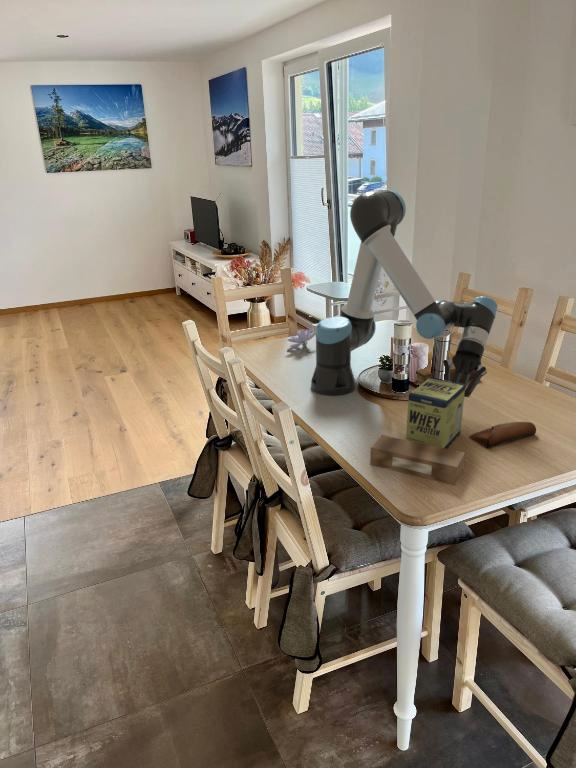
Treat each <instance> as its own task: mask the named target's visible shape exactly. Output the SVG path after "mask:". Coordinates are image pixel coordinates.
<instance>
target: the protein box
mask: <svg viewBox="0 0 576 768" xmlns="http://www.w3.org/2000/svg"><path fill="white" fill-rule="evenodd" d="M465 390H466V389H465V384H461V382H458V383H457V382H452V381H447V380H442V379H438V378H433V377H430V378H428V379H427V380H426V381H425V382H424V383H422V384H421V385H420V386H419V387H418V386H417V387H416V388H415V389H414V390H412V391H411V392H409V394H408V399H407V401H408V403H407V414H406V415H407V418H406V433H405V440H408V441H413V442H418V443H422V444H427V445H431V446H436V447H441V448H445V449H449V447H450V445H452V444H453V443H454V442H455V440H457V438H458V437H459V436H460V435H461V432H462V431H461V430H462V420H463V411H464V402H465V401H464V400H465V397H464V394H465Z"/></svg>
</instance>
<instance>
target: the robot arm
mask: <svg viewBox="0 0 576 768" xmlns="http://www.w3.org/2000/svg"><path fill="white" fill-rule="evenodd" d="M406 207H407V206H406V203H405V200H404V198H403V197H402V195H400V193H398V192H396V191H394V190H392V189H385V188H384V189H383V188H382V189H379V190H376V191H367V192H364V193H362V194H360V195H358V196H357V197H356V198H355V199H354V200H353V202H352V204H351V207H350V211H349V212H350V213H349V217H350V222H351V225H352V227H353V229H354V232H355V234H356V235H357V237H358V239H359V240H360V244H359V248H358V254H357V258H356V263H355V266H354V272H353V275H352V276H353V277H352V281H351V285H350V289H349V294H348V297H347V302H346V303H345V304H343V305H342V306H341V308H340V309H341V310H340V313H339V316H331V317H325V318H323V319H322V320H319V322H318V323H317V324H316V330H315V332H316V335H315V354H316V355H315V362H316V364H315V368H314V372H313V374H312V377H311V381H310V385H311V386H310V388H311V389H312V390H313V391H314V392H316V393H317V394H318V393H319V394H321V395H327V396H340V395H346V394H348V393H351V392H353V391H354V390H355V389H356V379H355V375H354V372H353V369H352V365H351V364H352V363H351V359H352V357H351V356H352V352H353V351H354V350H356V349H358V348H359V347H362V346H364V345H367V343H368V342H369V341H371V339H373V337H374V335H375V333H376V325H377V324H376V321H375V319H374V318H375V312H374V310H373V309H372V308H373V303H374V300H375V295H376V291H377V288H378V284H379V281H380V276H381V272H382V269H383V270H384V272H385V273H386V275H387V277H388V278H389V279H390V281H391V283H392V284H393V285H394V288H395V289H396V290H397V291H398V293H399V295H400V296H401V299H403V301H404V302H405V304H406V305H407V307H408V308H409V309H410V311H411V313H412V315H413V317H414V318H415V319H416V325H415V327H416V332H417V333H418V335H419V336H421V337H422V338H424V339H427V340H429V339H435V338H436V337H439V336H441V335H443V333H445V332H447V331H448V330H449V329H451V327H458V328H463V329H462V330H463V331H462V334H461V336H460V340H459V343H458V345H457V347H456V348H457V349H456V352H455V353H454V354H455V356H454V357H453V358H452V360H449V361H447V360H444V361H443V363H444V366H445V374H444V380H447V381H450V368H451V367H452V364H454V366H455V374H454V377H453V380H452V382H457V383H461V384H465V394H464V398H470V396H471V395H472V393H473V392H474V390H475V389H476V388H477V385H478V384H479V382H480V381H481V379H482V378H483V377H484V376H485V375H486V374H487V373H488V371H487V367H486V366H483V365H482V361H481V360H482V359H483V355H484V352H485V348H486V346H487V343H488V340H489V336H490V333H491V330H492V327H493V325H494V320H495V319H496V314H497V310H498V303H497V302H496V301H495V300H494V299H493V298H492V297H489V296H484V295H482V296H477V297H475V298H474V299H473V301H472V302H471V303H469V302H468V303H466V302H459V301H449V300H435V297H433V295H432V294H431V292H430V291H429V289H428V287H427V285H426V284H425V283H424V281H423V279H422V278H421V277H420V275H419V274H418V272H417V271H416V269H415V267H414V266H413V264H412V262H411V261H410V260H409V258H408V257H407V255H406V254H405V252H404V250H403V248H402V247H401V246H400V244H399V243H398V241H397V240H396V238H395V235H396V232H397V227H398V225H399V224H401V223H402V221H403V220H404V218H405V216H406V209H407V208H406ZM477 369H478V370H477ZM475 370H477V372H476V374H475V376H474V377H473V379H471V380H469V378H470V375H471V373H473V372H474V371H475ZM462 373H464V374H463V378H462V381H461V382H459V380H460V377H461V375H462ZM469 381H470V382H469ZM468 382H469V384H468Z"/></svg>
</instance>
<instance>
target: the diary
mask: <svg viewBox="0 0 576 768" xmlns="http://www.w3.org/2000/svg"><path fill="white" fill-rule="evenodd" d="M432 352H433V351H432ZM432 352H427V353H428V365H427V367H425V368H424V369H420V370H417V371H416V374H417V381H418V382H419V383H421V384H422V383H424V382H425V381H426V380H427V379H428V378H430V377H433V374H432V373H431V360H432ZM449 352H450V357H449V360H452V358H453V357H454V356H455V354H456V353H453V352H451V351H449ZM477 370H478V369H477ZM477 370H475V371H474V372H473V373H471V375H470V378H469V380H468V381H471V380H472V379H473V377H474V376H475V374H476V372H477ZM454 374H455V366H454V364H452V367H451V368H450V381H452V380H453V377H454ZM463 374H464V373H462V375H461V377H460V380H459V382H458V383H461V381H462V378H463Z"/></svg>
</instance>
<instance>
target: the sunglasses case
mask: <svg viewBox="0 0 576 768" xmlns="http://www.w3.org/2000/svg"><path fill="white" fill-rule="evenodd" d="M536 433H537V427H536V425H535V424H534V423H533V422H530V421H512V422H507V423H500V424H496V425H492V426H491V427H489V428H486V429H483V430H480V431H477V432H475V433H473V434H471V435H469V436H468V438H469V439H471V440H472V441H475V442H476V443H478V444H479V445H481V446H483V447H484V448H486V449H487V450H488V449H491V448H494V447H496V446H499V445H501V444H504V443H507V442H510V441H514V440H516V439H520V438H524V437H527V436H531V435H535V434H536Z"/></svg>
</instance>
